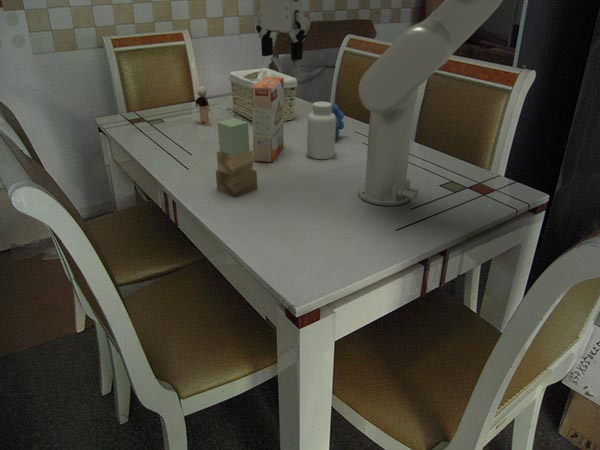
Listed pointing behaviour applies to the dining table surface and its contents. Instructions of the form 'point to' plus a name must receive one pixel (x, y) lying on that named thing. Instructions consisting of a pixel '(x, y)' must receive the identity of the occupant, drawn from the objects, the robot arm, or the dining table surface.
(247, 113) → the storage basket
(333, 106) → the grapes
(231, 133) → the sage block
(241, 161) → the tower mid
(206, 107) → the grandmother figurine
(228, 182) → the tower base
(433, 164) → the dining table surface
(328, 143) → the pill bottle
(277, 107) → the cracker box
